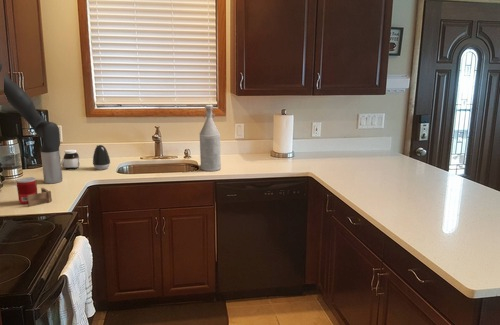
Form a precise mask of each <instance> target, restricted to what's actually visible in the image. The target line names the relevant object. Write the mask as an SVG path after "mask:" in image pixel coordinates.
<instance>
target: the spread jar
mask: <svg viewBox="0 0 500 325" xmlns="http://www.w3.org/2000/svg"><path fill="white" fill-rule="evenodd" d="M60 161H61V167H64V169H65V170H67V169H74V170H77V168H78V169H79V168H80V165H81V163H80V156H79V153H77V149H65V150H64V155H63V158H62V160H60Z"/></svg>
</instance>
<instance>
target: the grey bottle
mask: <svg viewBox="0 0 500 325" xmlns="http://www.w3.org/2000/svg"><path fill="white" fill-rule="evenodd" d="M204 109H206V111H205V113H204V115H203V118H204V119H205V122H204V123H203V126H202V128H201V130H200V132H199V152H200V155H199V156H200V159H199V160H200V170H202V171H205V172H215V171H216V172H217V171H220V170H221V169H222V167H221V166H222V165H221V164H222V163H221V133H220V131H219V130H218V127H217V126H216V123H215V122H214V119H213V118H215V116H216V114H215V113H213V110H215V107H214V105H213V104H207V105H205V107H204Z"/></svg>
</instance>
